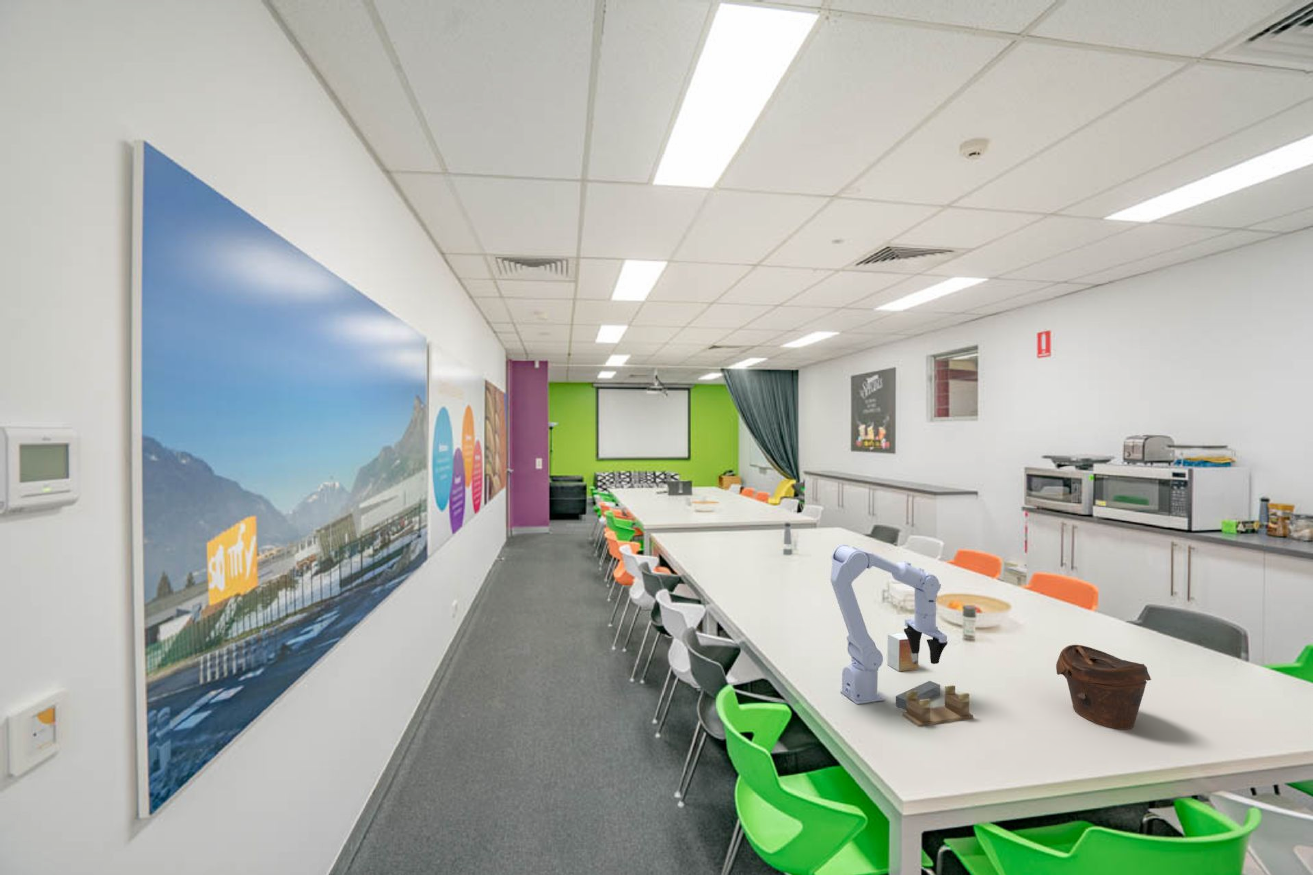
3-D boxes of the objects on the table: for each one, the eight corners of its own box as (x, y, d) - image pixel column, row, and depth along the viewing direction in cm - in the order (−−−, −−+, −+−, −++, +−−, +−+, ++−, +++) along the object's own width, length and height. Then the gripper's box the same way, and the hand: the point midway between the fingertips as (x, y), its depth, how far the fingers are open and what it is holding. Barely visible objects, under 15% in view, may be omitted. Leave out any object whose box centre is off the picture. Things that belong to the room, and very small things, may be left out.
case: (1056, 692, 157) (1057, 633, 157) (1147, 715, 144) (1148, 651, 144) (1054, 716, 143) (1055, 652, 143) (1154, 744, 131) (1155, 673, 130)
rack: (918, 726, 136) (919, 702, 137) (902, 715, 142) (902, 691, 142) (973, 718, 141) (973, 694, 141) (955, 707, 147) (955, 684, 147)
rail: (906, 712, 145) (906, 700, 145) (895, 707, 147) (895, 695, 147) (940, 695, 155) (940, 684, 155) (929, 691, 157) (929, 680, 157)
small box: (898, 671, 170) (899, 639, 170) (886, 664, 175) (887, 633, 175) (918, 669, 172) (919, 637, 172) (906, 662, 177) (906, 631, 177)
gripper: (955, 619, 150) (955, 666, 150) (918, 604, 164) (917, 647, 164) (935, 621, 148) (935, 669, 148) (899, 605, 162) (899, 649, 162)
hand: (924, 657), depth 156 cm, fingers open, 7 cm apart
